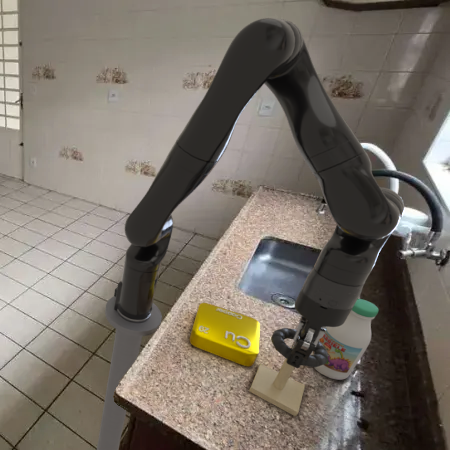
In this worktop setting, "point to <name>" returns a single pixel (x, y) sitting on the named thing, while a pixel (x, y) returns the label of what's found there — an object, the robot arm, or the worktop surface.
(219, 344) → the element tile
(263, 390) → the stand
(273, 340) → the ring
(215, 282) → the worktop surface
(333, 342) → the milk bottle
